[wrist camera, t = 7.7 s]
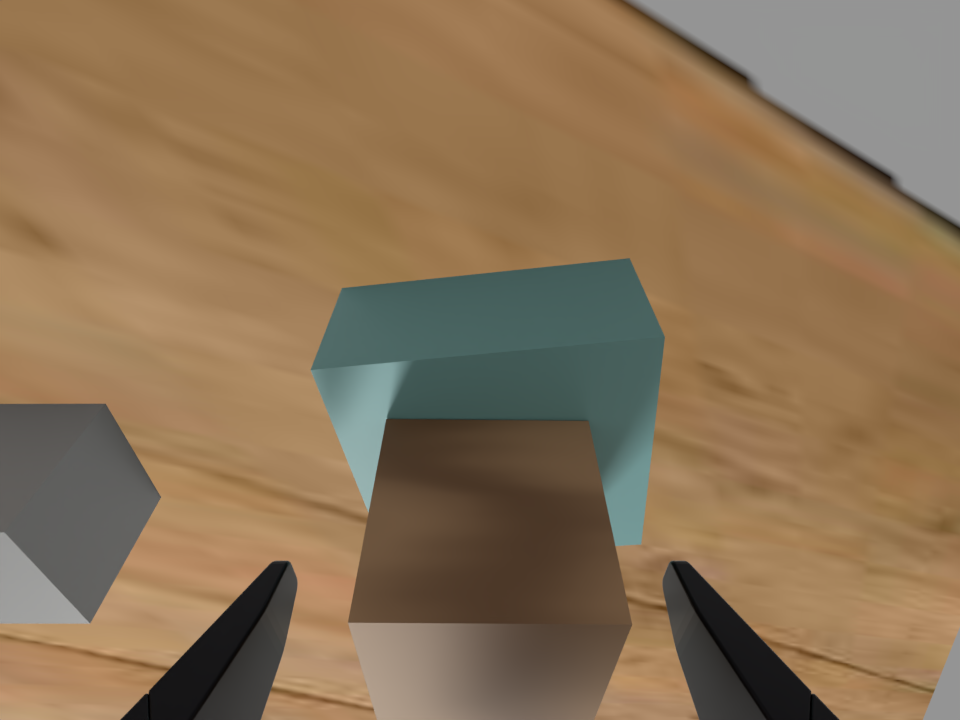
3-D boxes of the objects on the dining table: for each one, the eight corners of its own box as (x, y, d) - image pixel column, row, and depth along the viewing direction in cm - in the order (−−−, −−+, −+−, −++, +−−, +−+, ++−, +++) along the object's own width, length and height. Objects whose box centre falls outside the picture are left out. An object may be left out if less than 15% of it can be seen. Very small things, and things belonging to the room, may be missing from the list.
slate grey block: (34, 495, 21) (-66, 623, 17) (-42, 402, 18) (-185, 532, 14) (161, 495, 21) (89, 623, 17) (107, 401, 18) (4, 532, 14)
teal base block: (401, 464, 21) (387, 561, 17) (344, 281, 16) (310, 370, 13) (616, 447, 20) (641, 544, 17) (626, 251, 15) (664, 337, 12)
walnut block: (401, 535, 17) (378, 723, 13) (386, 418, 13) (348, 622, 10) (566, 536, 17) (592, 724, 13) (588, 420, 13) (632, 624, 10)
